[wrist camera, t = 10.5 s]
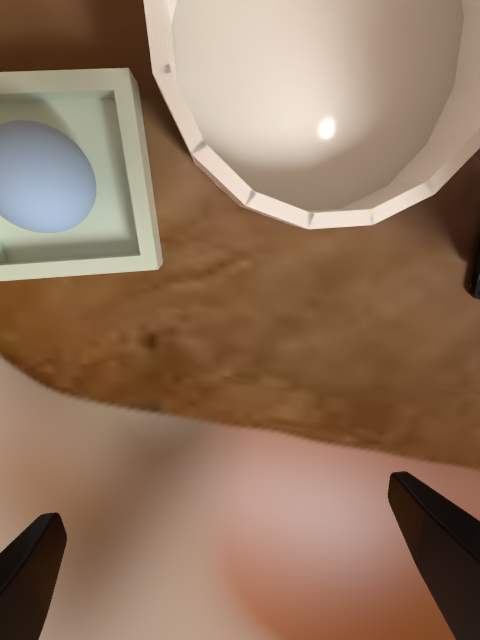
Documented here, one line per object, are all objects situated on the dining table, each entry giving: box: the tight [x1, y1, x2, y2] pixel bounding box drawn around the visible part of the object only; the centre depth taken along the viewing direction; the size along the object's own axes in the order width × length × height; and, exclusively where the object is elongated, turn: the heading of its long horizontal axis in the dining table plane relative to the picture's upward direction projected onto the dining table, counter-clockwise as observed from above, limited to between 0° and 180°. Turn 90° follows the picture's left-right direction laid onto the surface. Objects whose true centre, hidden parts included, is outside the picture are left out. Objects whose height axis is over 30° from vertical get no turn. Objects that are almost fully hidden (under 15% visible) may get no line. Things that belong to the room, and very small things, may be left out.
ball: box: [0, 120, 96, 233], centre depth 14 cm, size 5×5×5 cm
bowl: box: [143, 0, 480, 229], centre depth 14 cm, size 15×15×4 cm
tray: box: [0, 68, 163, 281], centre depth 16 cm, size 9×9×2 cm
